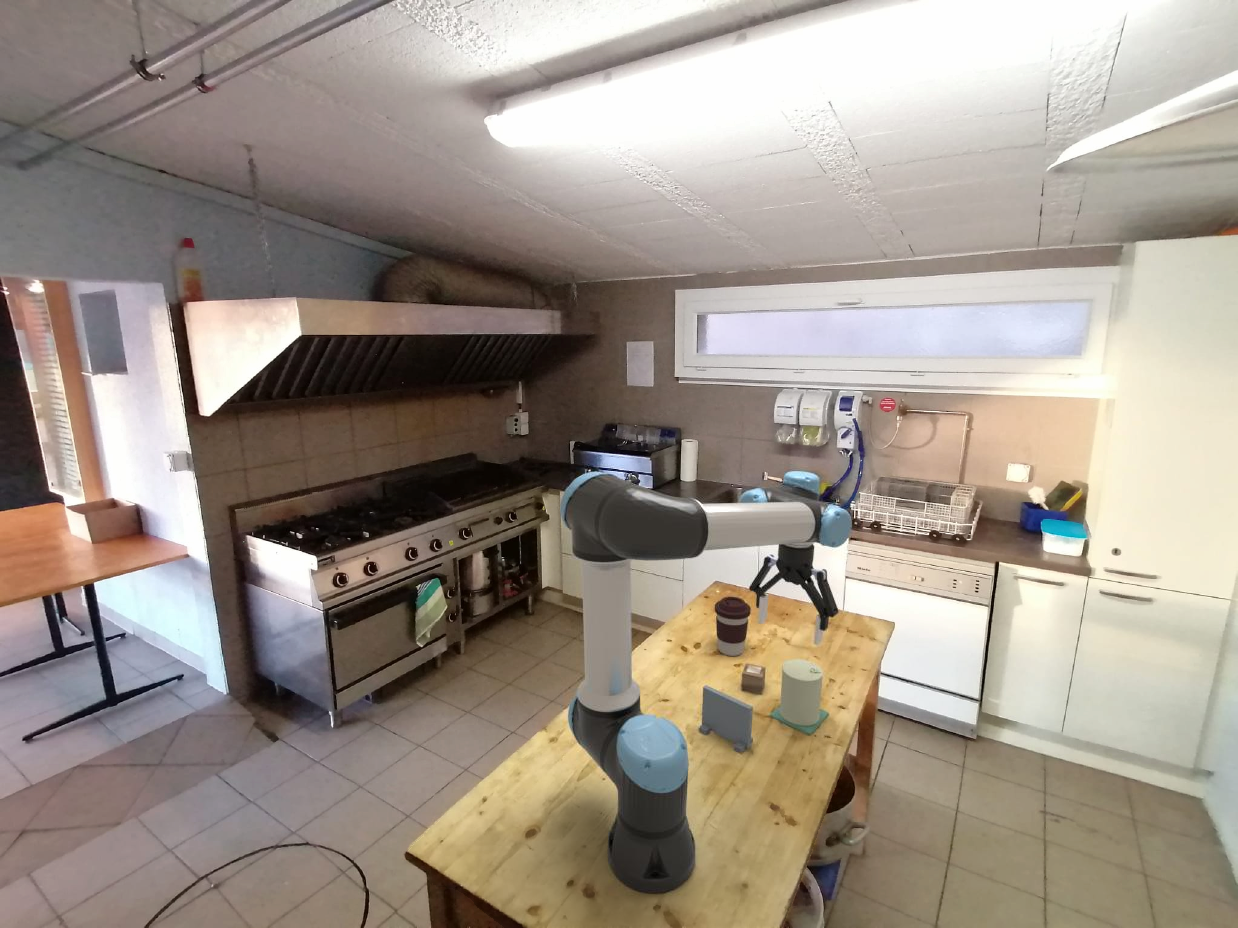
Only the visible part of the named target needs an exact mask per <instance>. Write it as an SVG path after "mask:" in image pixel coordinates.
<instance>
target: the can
mask: <svg viewBox="0 0 1238 928" xmlns="http://www.w3.org/2000/svg"><path fill="white" fill-rule="evenodd" d="M781 669H782V670H781V688H780V702H779V703H780V704H779V706H780V707H779V706H778V707H779V712H780V714H781V716H782V717H783V718H784V719H785V720H787V721H788V722H790V723H793V724H796V725H800V726H810V725H814V724H816V723H817V722H818V721H819V719H820V709H821V697H822V696H821V695H822V687H823V685H822V684H823V677H824V671H823V669H822V668H821V667H820V665H818V664H816V663H814V662H812V661H810V660H805V659H802V658H801V659H800V658H799V659H798V658H797V659H796V658H794V659H789V660H786V661H785V662H784V663H783V664H782V666H781Z"/></svg>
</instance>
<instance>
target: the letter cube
mask: <svg viewBox="0 0 1238 928" xmlns="http://www.w3.org/2000/svg"><path fill="white" fill-rule="evenodd" d="M765 683H766V666H762V665H757V664H752V663H747V662H746V663H745V665H744V667H743V671H742V674H741V688H740V689H741V690H740V691H742V692H746V693H752V694H756V695H759V696H761V695H762V694H763V691H764V687H765Z"/></svg>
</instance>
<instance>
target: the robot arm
mask: <svg viewBox="0 0 1238 928" xmlns="http://www.w3.org/2000/svg"><path fill="white" fill-rule="evenodd" d="M820 486H821V485H820V477H819V476H818V475H816V474H814V473H813V472H809V471H801V470H799V471H798V470H796V471H794V470H792V471H788V472H786V473H785V474H784V476H783V480H782V484H779V485H773V486H766V487H757V488H756V487H755V488H753V489H749V490H745V492H743V493H742V494H741V495H740V497H739V498H738V499H739V500H738V502H731V503H729V502H728V503H727V502H725V503H701V502H700V501H699V500H697V499H695V498H693V497H677V496H671V495H667V494H664V493H661V492H658V491H655V490H652V489H650V488H647V487H645V486H642V485H638V484H636V483H632V482H631V481H627V480H625V479H623V478H620V477H618V476H617V475H614V474H613V473H609V472H607V473H605V472H601V471H590V472H586V473H583V474H582V475H581V474H580V476H577V477H576V478H575V479H573V481H572V482H571V483H570V484H569V486H567V487H566V489H565V490H564V492H563V493H562V494H563V495H562V497H561V499H560V507H559V508H560V509H559V510H560V511H559V512H560V516H561V519H562V521H563V523H564V525H565V526H566V528H567V529H569V530H570V531H571V545H572V547H571V549H572V551H571V552H572V555H573V557H574V558H576V560H577V561H579V562H580V563H581V579H582V581H581V582H582V583H581V584H582V585H581V587H582V589H581V590H582V614H583V653H584V654H583V655H584V680H583V681H582V682H581V683H580V684H579V686H578V687H577V691H576V692H575V694H574V699H571V700H570V704H569V706H568V713H567V719H568V720H567V721H568V727H569V729H570V731H571V733H572V735H573V737H574V738H575V740H576V741H577V743H578V744H579V746H581V748H582V749H584V751H586V752H587V754H588V755H589V757H590V758H592V760H593V761H594V762H595V763H596V764H597V765H598V766H599V768H600V769H601V770H602V771H603V772H604V773H605V775H606V776H607V777H608V779H610V781H611V782H612V783H613V784H614V786H615V787H616V790H617V814H616V816H615V818H614V820H613V821H614V822H613V824H612V825H611V829H610V831H609V834H608V840H607V859H608V864H609V866H610V869H611V871H612V873H613V874H614V876H615V877H616V878H617V879H618V880H619V881H620V882H621V883H622V884H623V885H625V886H627V887H628V888H630V889H633V890H635V891H637V892H641V893H647V894H661V893H662V894H663V893H667V892H670V891H672V890H675V889H676V888H678V887H680V886H681V885H683V884H684V882H686V881H687V880H688V878H690V875H691V874H692V872H693V870H694V868H695V862H696V843H695V842H696V841H695V838H694V835H693V832H692V830H691V828H690V823H689V821H688V818H687V802H688V801H687V799H688V783H689V782H688V779H689V778H688V776H689V767H690V763H689V761H690V760H689V754H688V744H687V740H686V737H685V736H684V734H683V733H682V731H681V730H680V728H678V726H677V725H676V724H674V723H673V722H671V721H670V720H668V719H667V718H665V717H662V716H660V717H659V718H657V716H656V715H655V714H648V713H647V714H643V712H642V710H641V709H642V708H641V689H640V685H639V683H638V682H637V681H636V680H635V679H634V678H633V675H632V674H633V672H632V670H633V669H632V668H633V667H632V665H633V664H632V659H633V658H632V655H633V654H632V653H633V652H632V584H631V583H632V582H631V581H632V578H631V577H632V576H631V575H632V574H631V571H632V570H631V566H632V565H631V564H632V563H631V562H632V561H633V560H634V561H652V562H653V561H673V560H675V561H676V560H683V559H684V560H685V559H694V558H698V557H699V556H701V555H702V554H703V552H704V551H712V550H713V551H715V550H727V549H728V550H729V549H738V548H739V549H740V548H751V547H754V548H755V547H763V546H766V547H767V546H776V545H778V546H777V547H778V550H777V557H775V556H774V555H773V554H769V555H767V556H766V557H764V559H763V564H762V567H761V568H760V570H759V571H758V572H757V575H756V576H755V577H754V579H753V581H752V582H751V584H750V585H749V587H748V589H749V591H750V592H754V593H755V595H756V601H755V607H756V608H757V609H758V616H757V617H758V618H757V624H758V625H761V624H763V623H766V621H767V620H768V619H767V618H768V607H769V594H768V593H766V592H767V591H769V590H770V589H771V588H772V587H773V586H775V585H776V584H777V583H779V582H780V581H781V580H782V579H783V580H784V582H785V583H792V584H794V585H795V586H799V585H800V586H801V589H802V590H803V591H805V593H806V595H807V596H808V598H809V599H810V601H811V603H812V604H813V606H814V607H815V609H816V611H817V612H818V614H816V616H815V625H814V626H815V627H814V636H813V637H814V639H813V644H814V645H816V646H818V645H819V644H820V643H821V642H822V641H823V639H824V638H823V637H824V631H826V630H827V629H828V628H829V619H830V618H834V617H835V616H836V615H838V614H839V608H838V605H837V602H836V600H835V597H834V595H833V592H832V589H831V586H830V584H829V581H828V570H827V569H825V568H823V569H815V568H814V566H813V562H814V558H815V557H814V556H815V545H814V544H815V543H817V544H819V545H821V546H823V547H829V548H840V547H841V546H842V545H844V544H845V543H846V542H847V541H848V538H849V537H850V535H851V533H852V532H851V529H852V526H853V523H852V522H853V521H852V517H851V514H850V513H849V512H848V511H847V509H844V508H841V507H839V506H838V505H837V506H836V505H835V504H832V503H831V504H829V503H826V502H822V501H819V499H820V495H821V493H820ZM775 566H776V568H777V570H778V572H777V573H776V574H775V575H773V577H772V578H771V579H770V580H768V581H767V582H766V583H764V584H763V581H764V579H766V577H767V576H768V573H769V572H770V571H771V569H772V568H773V567H775ZM812 576H813V577H814V579H812ZM814 580H815V581H816V584H817V587H818V589H819V590H818V589H817V587H816V586H815V581H814ZM762 584H763V585H762ZM761 585H762V586H761Z"/></svg>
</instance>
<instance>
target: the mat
mask: <svg viewBox="0 0 1238 928" xmlns="http://www.w3.org/2000/svg"><path fill="white" fill-rule="evenodd" d="M779 707H780V705H778V707H776V708H775V709H774V710H773V711H772V712H771V713H770V714H769V718H771V719H773V720H775V721H778V722H779V723H782V724H785V725H787V726H788V727H791V728H793V729H795V730H797V731H800V732H801V733H803V734H806V735H808V736H810V737H811V736H812V735H813V733H814V732H816V730H817V729H818V728H819V727H820V725H821V724H822V723H823V722H824V721H825V720H826V719H827V718H828V716H830V713H829V712H828V711H827V710H826V711H825V710H824V709H822V708H820V719H819V721H818V722H817V723H816V724H814V725H810V726H800V725H796V724H793V723H790V722H788V721H787V720H785V719H784V718H783V717H782V716H781V714H780V712H779Z"/></svg>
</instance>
